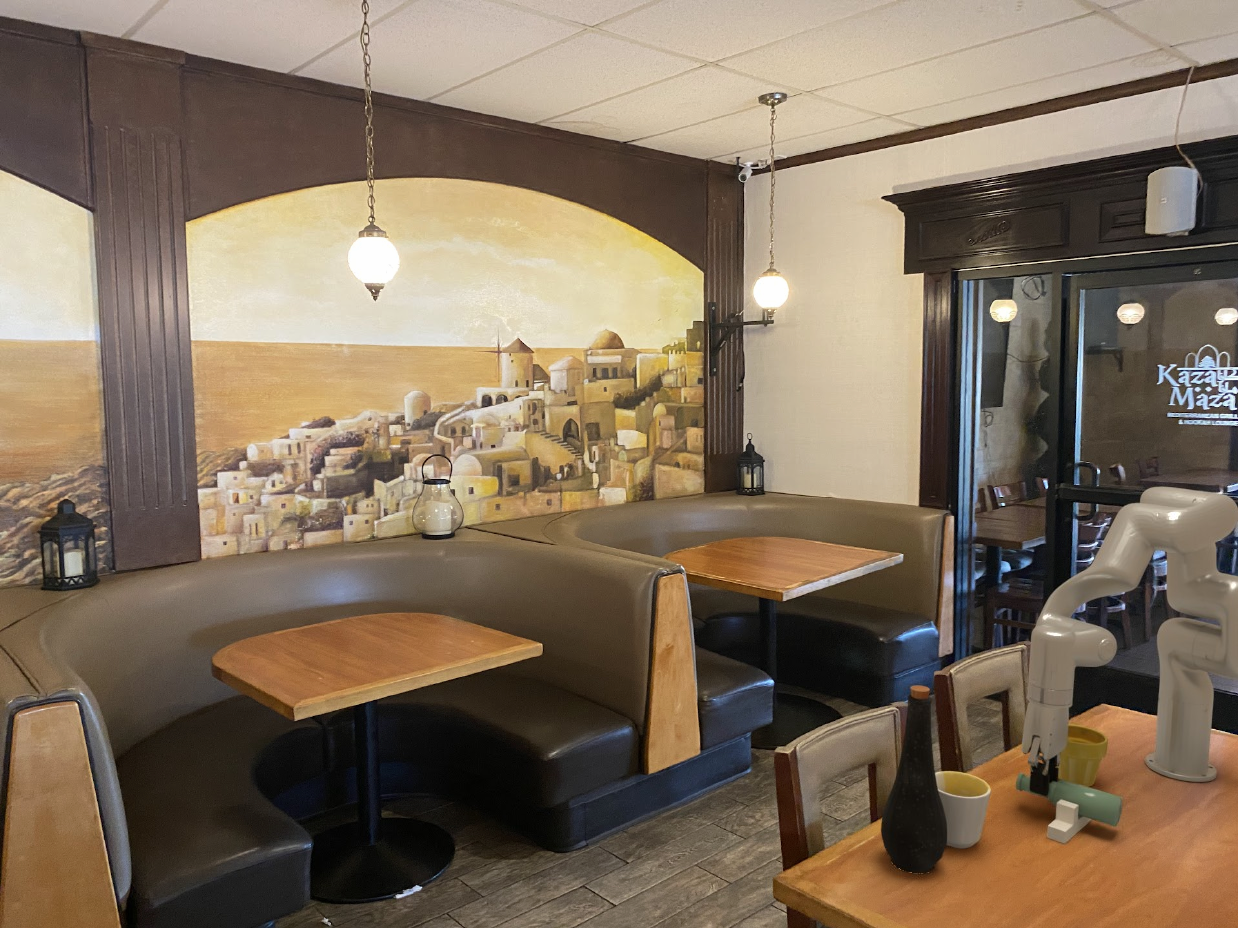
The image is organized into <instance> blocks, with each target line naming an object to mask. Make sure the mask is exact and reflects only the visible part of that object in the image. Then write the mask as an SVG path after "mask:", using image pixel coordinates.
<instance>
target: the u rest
mask: <svg viewBox="0 0 1238 928" xmlns="http://www.w3.org/2000/svg"><path fill="white" fill-rule="evenodd" d="M1079 785H1080V784H1079ZM1082 786H1083V785H1082ZM1078 807H1079V805H1077V804H1074V803H1071V802H1068V801H1065V800H1062V799H1061V800H1060V801H1058V802H1057V807H1056V808H1055V809H1056V811H1055V819H1054V820H1053V821H1051V823H1049V824H1048V825H1047V832H1046V838H1048V839H1049V840H1053V841H1055V842H1058V843H1061V844H1063V845H1065V844H1067V842H1069V841H1070V840H1071V839H1072V838H1073V837H1074V836H1075V835H1076V834H1077V833H1078V832H1080V831H1081V830H1082V829H1083V828H1084V827H1085V826H1086V825H1088V824H1089V823H1090V821H1092V820H1093V819H1090V818H1086V817H1083V816H1080V815H1078Z"/></svg>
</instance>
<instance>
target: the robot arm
mask: <svg viewBox="0 0 1238 928" xmlns="http://www.w3.org/2000/svg"><path fill="white" fill-rule="evenodd" d="M1139 500H1140V501H1139V502H1135V503H1128V504H1126V505H1124V506H1123V507H1121V508H1120V510H1119V511H1118V512H1117V514H1116V516H1115V518H1114V520H1113V522H1112V524H1111V526H1110V527H1109V529H1108V532H1107V533H1106V536H1105V537H1104V539H1103V542H1102V543H1101V546H1100V548H1099V549H1098V551H1097V552H1096V555H1095V557H1094V559H1093V561H1092V563H1091V565H1090V566H1089V567H1087V568H1086V569H1085V570H1083V571H1081V572H1078V573H1076V574H1075V575H1074V576H1072V577H1071V578H1069V579H1067V580H1066V581H1065V582H1063V583H1062V584H1061V585H1060V586H1058V587H1057V588H1056V589H1055V590H1054V591H1053V592H1052V593H1051V594H1050V595H1049V597H1048V599H1047V600H1046V602H1045V604H1044V606H1043V608H1042V610H1041V612H1040V614H1039V616H1038V618H1037V621H1036V624H1035V627H1034V628H1033V629H1032V630H1031V637H1030V649H1029V650H1030V651H1029V666H1028V668H1029V669H1028V682H1027V696H1026V697H1027V698H1026V699H1027V700H1028V701H1029V702H1028V705H1027V707H1026V708H1027V709H1026V712H1025V719H1024V724H1023V731H1022V732H1023V733H1022V740H1021V741H1022V742H1021V753H1022V754H1024V755H1028V754H1029V755H1028V758H1027V759H1028V760H1027V764H1028V765H1029V766H1030V767H1029V771H1030V775H1029V777H1030V788H1029V789H1030V791H1031V792H1034V793H1037V794H1040V795H1043V796H1047V795H1048V791H1049V783H1051V782H1052V781H1055V782H1058V781H1059V778H1058V773H1059V768H1057V767H1059V765H1060V755H1061V754H1060V753H1061V751H1063V750H1064V749H1065V747H1066V745H1067V739H1068V724H1070V723H1069V721H1070V719H1069V718H1070V715H1069V710H1070V708H1071V707H1072V706H1073V698H1074V686H1075V685H1074V684H1075V683H1074V681H1075V671H1076V670H1075V669H1076V668H1077V667H1087V668H1088V667H1090V668H1091V667H1093V668H1094V667H1095V668H1096V667H1102V666H1104V665H1107V664H1108V663H1110V662H1111V661H1112V660H1113V658H1114V657H1115V656H1116V654H1117V651H1118V644H1117V639H1116V638H1115V636H1114V635H1113V633H1111V631H1109V630H1108V629H1106V628H1104V627H1102V626H1098V625H1096V624H1093V623H1088V622H1085V621H1082V620H1078V619H1074V618H1072V615H1073V614H1074V613H1075V612H1076V611H1077V609H1079V608H1080V607H1082V605H1084V604H1086V603H1088V602H1090V601H1092V600H1095V599H1099V598H1103V597H1108V596H1112V595H1117V594H1122V593H1123V594H1124V593H1127V592H1131V591H1133V590H1134V589H1136V588H1137V587H1138V586H1139V584H1140V582H1141V580H1142V578H1143V575H1144V573H1145V571H1146V569H1147V567H1148V565H1149V563H1150V561H1151V559H1152V557H1153V555H1154V553H1155V552H1166V600H1167V603H1168V605H1169V606H1170V608H1171V609H1173V610H1175V611H1176V612H1179V613H1182V614H1185V615H1190V616H1193V617H1197V618H1201V619H1206V620H1209V621H1214V622H1217V623H1219V625H1216V624H1213V623H1209V622H1206V621H1203V620H1202V621H1200V620H1197V619H1194V618H1193V619H1192V618H1188V617H1173V618H1169V619H1167V620H1165V621H1164V622H1163V623H1161V625H1160V627H1159V629H1158V631H1157V636H1156V645H1157V653H1158V658H1159V659H1158V660H1159V690H1158V691H1159V692H1158V701H1157V716H1156V717H1157V718H1156V728H1155V729H1156V730H1155V732H1156V733H1155V746H1154V752H1151V753H1149V754H1147V755H1146V756H1145V765H1146V766H1147V767H1148V768H1149V769H1151V770H1152V771H1154V772H1155V773H1158V774H1160V775H1162V776H1165V777H1168V778H1171V779H1175V780H1179V781H1183V782H1190V783H1191V782H1192V783H1201V782H1202V783H1205V782H1210V781H1214V780H1215V779H1216V778H1217V772H1218V771H1217V769H1216V767H1215V766H1214V765H1213V764H1211V763H1209V757H1210V749H1211V733H1212V732H1211V731H1212V721H1213V720H1212V719H1213V708H1214V696H1215V695H1214V693H1215V692H1214V686H1213V683H1212V681H1211V678H1210V676H1209V674H1213V675H1216V676H1218V677H1219V676H1220V677H1223V678H1225V679H1226V678H1227V679H1231V680H1232V679H1233V680H1238V575H1233V574H1228V573H1223V572H1220V571H1219V570H1218V568H1217V545H1216V542H1219V541H1221V540H1223V539H1225V538H1226V537H1227V536H1229V535H1230V534H1231V533H1232V532H1233V531H1234V529H1235V528H1236V526H1237V524H1238V505H1237V504H1236V501H1235V500H1234V499H1233V498H1232V497H1229V496H1228V495H1226V494H1222V493H1219V492H1218V493H1217V492H1210V491H1202V490H1194V489H1187V488H1179V487H1170V486H1154V487H1150V488H1147V489H1146V490H1144V491H1143V492H1142V494H1141V495H1140V499H1139ZM1040 754H1042V755H1040ZM1040 761H1042V762H1040Z"/></svg>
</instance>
